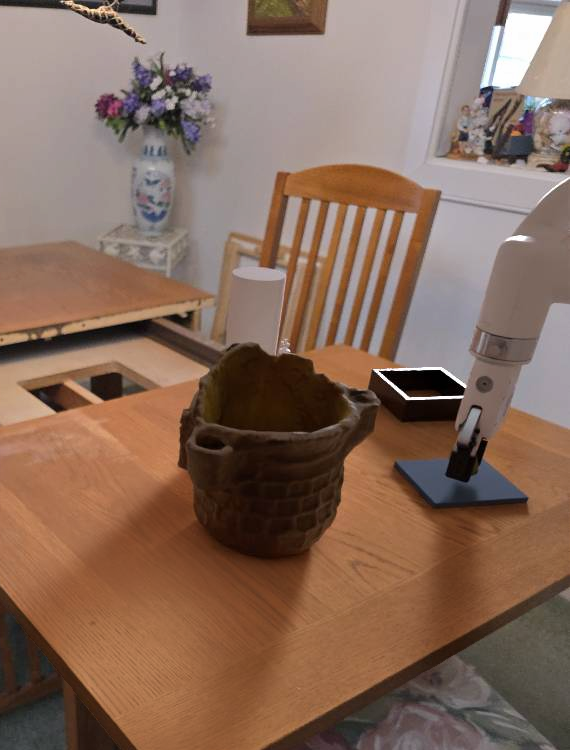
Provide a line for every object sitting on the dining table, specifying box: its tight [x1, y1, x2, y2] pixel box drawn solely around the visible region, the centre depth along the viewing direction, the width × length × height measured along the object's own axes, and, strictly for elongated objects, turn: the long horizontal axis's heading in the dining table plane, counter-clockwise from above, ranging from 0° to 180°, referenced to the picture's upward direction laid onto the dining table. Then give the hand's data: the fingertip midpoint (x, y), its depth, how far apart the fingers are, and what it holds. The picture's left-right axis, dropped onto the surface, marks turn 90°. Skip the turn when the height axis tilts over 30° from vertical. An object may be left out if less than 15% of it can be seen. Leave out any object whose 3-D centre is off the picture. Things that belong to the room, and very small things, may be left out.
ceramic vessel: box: [177, 342, 381, 559], centre depth 81 cm, size 23×24×25 cm
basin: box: [367, 367, 467, 423], centre depth 122 cm, size 14×14×4 cm
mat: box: [393, 457, 530, 509], centre depth 100 cm, size 14×12×1 cm
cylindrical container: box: [224, 266, 287, 356], centre depth 100 cm, size 7×7×25 cm
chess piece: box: [277, 338, 291, 356], centre depth 121 cm, size 5×5×10 cm
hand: (462, 470), depth 99 cm, fingers closed on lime, 4 cm apart
